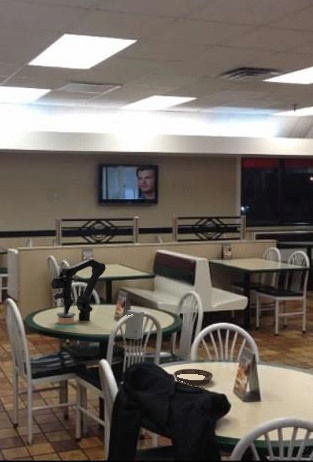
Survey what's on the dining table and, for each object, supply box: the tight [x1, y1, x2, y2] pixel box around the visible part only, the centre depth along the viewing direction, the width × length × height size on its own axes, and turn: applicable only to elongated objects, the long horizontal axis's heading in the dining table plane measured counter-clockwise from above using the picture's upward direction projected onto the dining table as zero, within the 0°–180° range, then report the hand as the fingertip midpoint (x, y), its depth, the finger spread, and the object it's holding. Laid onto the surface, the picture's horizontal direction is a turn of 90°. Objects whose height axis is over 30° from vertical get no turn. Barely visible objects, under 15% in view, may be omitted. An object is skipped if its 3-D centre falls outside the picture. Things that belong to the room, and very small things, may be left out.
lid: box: [56, 305, 76, 317], centre depth 390 cm, size 12×12×5 cm
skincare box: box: [124, 309, 145, 341], centre depth 358 cm, size 8×7×16 cm
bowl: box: [57, 316, 75, 324], centre depth 391 cm, size 10×10×4 cm
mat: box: [53, 323, 77, 330], centre depth 379 cm, size 12×12×1 cm
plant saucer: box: [173, 368, 214, 385], centre depth 282 cm, size 18×18×3 cm
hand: (66, 312), depth 390 cm, fingers closed on lid, 3 cm apart
